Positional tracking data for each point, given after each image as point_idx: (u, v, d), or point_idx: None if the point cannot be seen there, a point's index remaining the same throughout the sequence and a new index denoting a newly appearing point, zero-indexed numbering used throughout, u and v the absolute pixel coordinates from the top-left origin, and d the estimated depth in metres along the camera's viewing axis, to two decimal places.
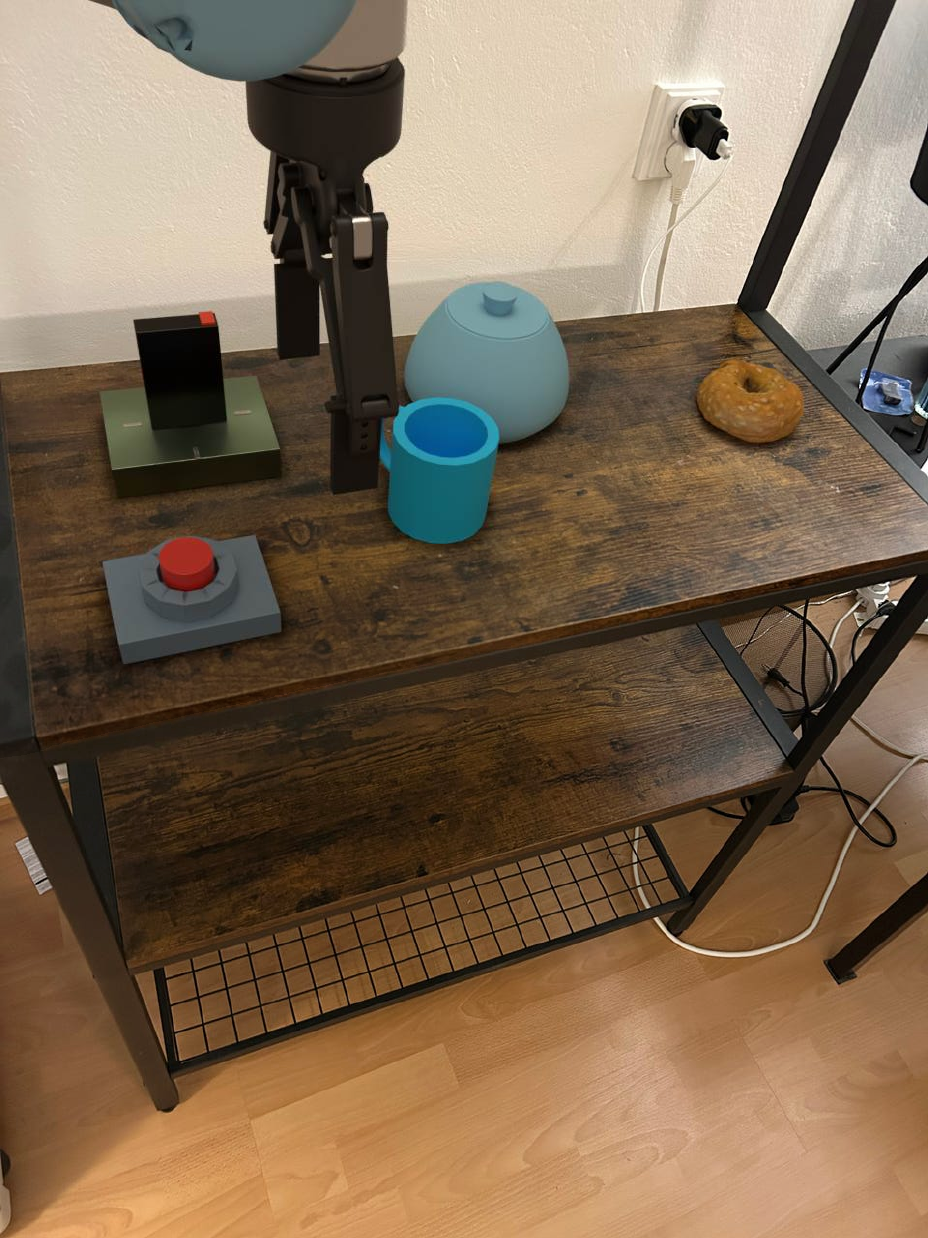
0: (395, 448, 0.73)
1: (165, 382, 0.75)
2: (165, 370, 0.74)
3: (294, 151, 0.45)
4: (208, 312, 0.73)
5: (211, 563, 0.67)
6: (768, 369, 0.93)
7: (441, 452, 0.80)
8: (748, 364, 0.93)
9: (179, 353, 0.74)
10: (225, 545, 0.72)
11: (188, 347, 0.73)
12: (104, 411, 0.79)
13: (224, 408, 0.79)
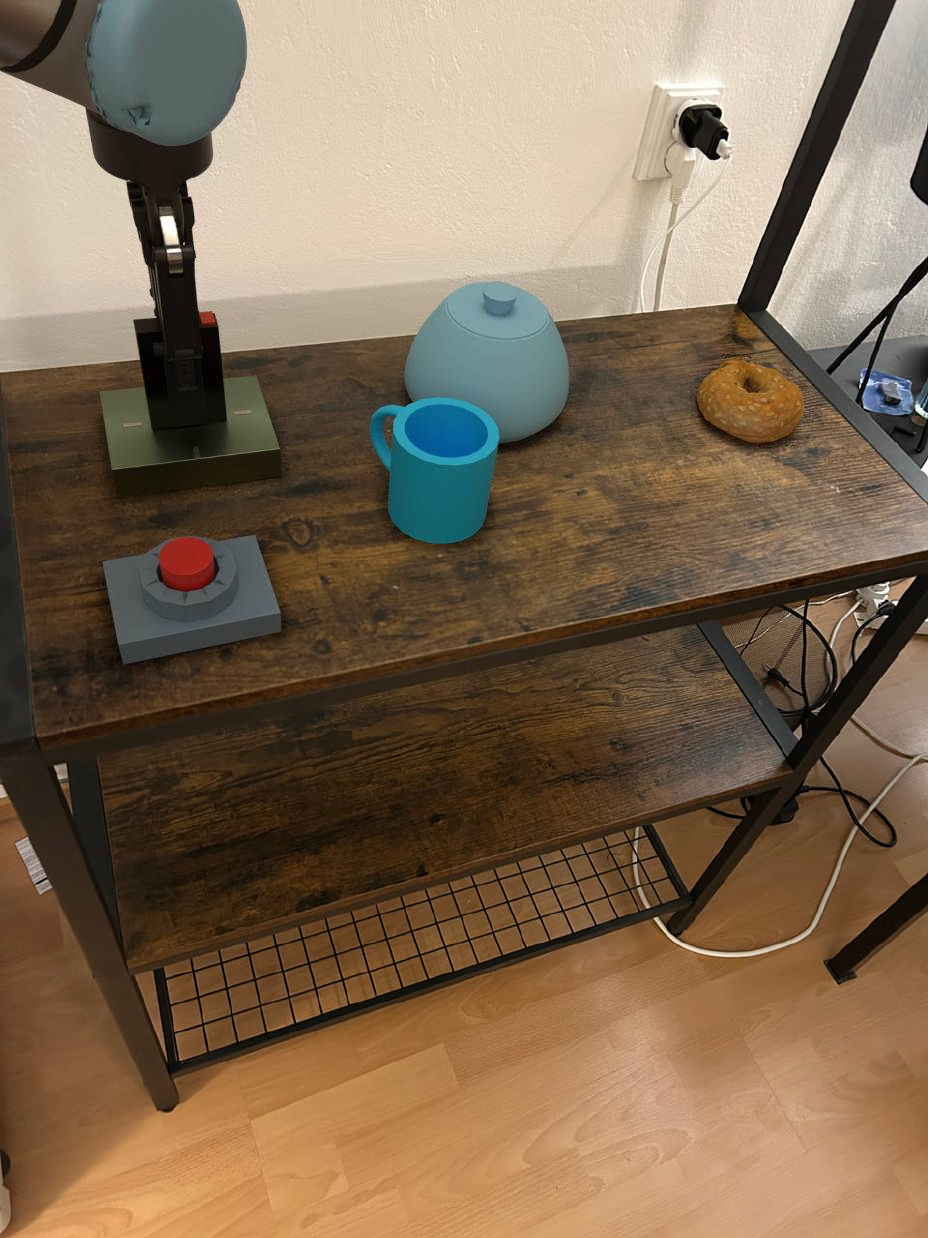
0: (395, 448, 0.73)
1: (165, 382, 0.75)
2: None
3: (122, 173, 0.61)
4: (208, 312, 0.73)
5: (211, 563, 0.67)
6: (768, 369, 0.93)
7: (441, 452, 0.80)
8: (748, 364, 0.93)
9: None
10: (225, 545, 0.72)
11: None
12: (104, 411, 0.79)
13: (224, 408, 0.79)
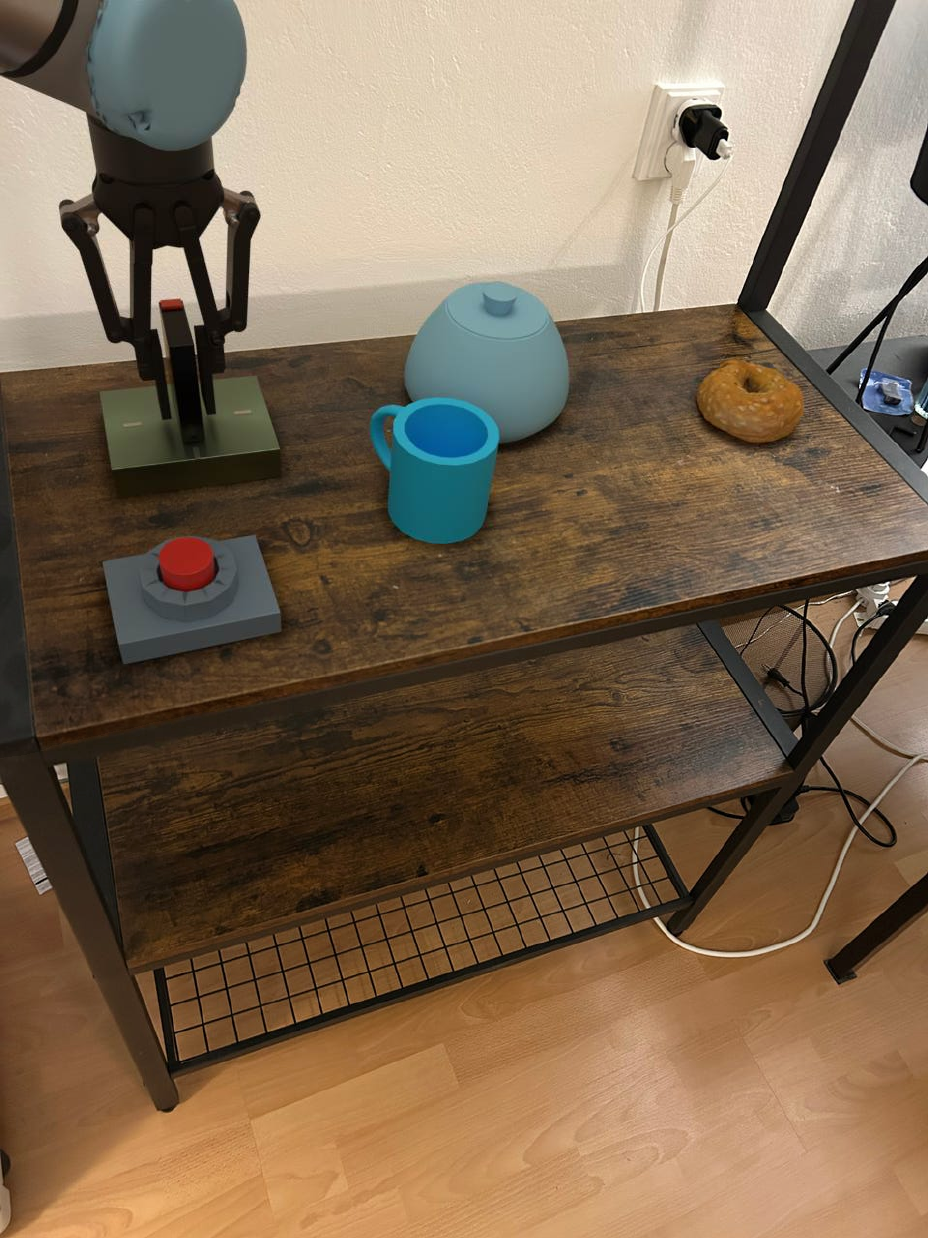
0: (395, 448, 0.73)
1: None
2: None
3: (206, 168, 0.63)
4: (163, 301, 0.74)
5: (211, 563, 0.67)
6: (768, 369, 0.93)
7: (441, 452, 0.80)
8: (748, 364, 0.93)
9: None
10: (225, 545, 0.72)
11: None
12: (104, 411, 0.79)
13: None
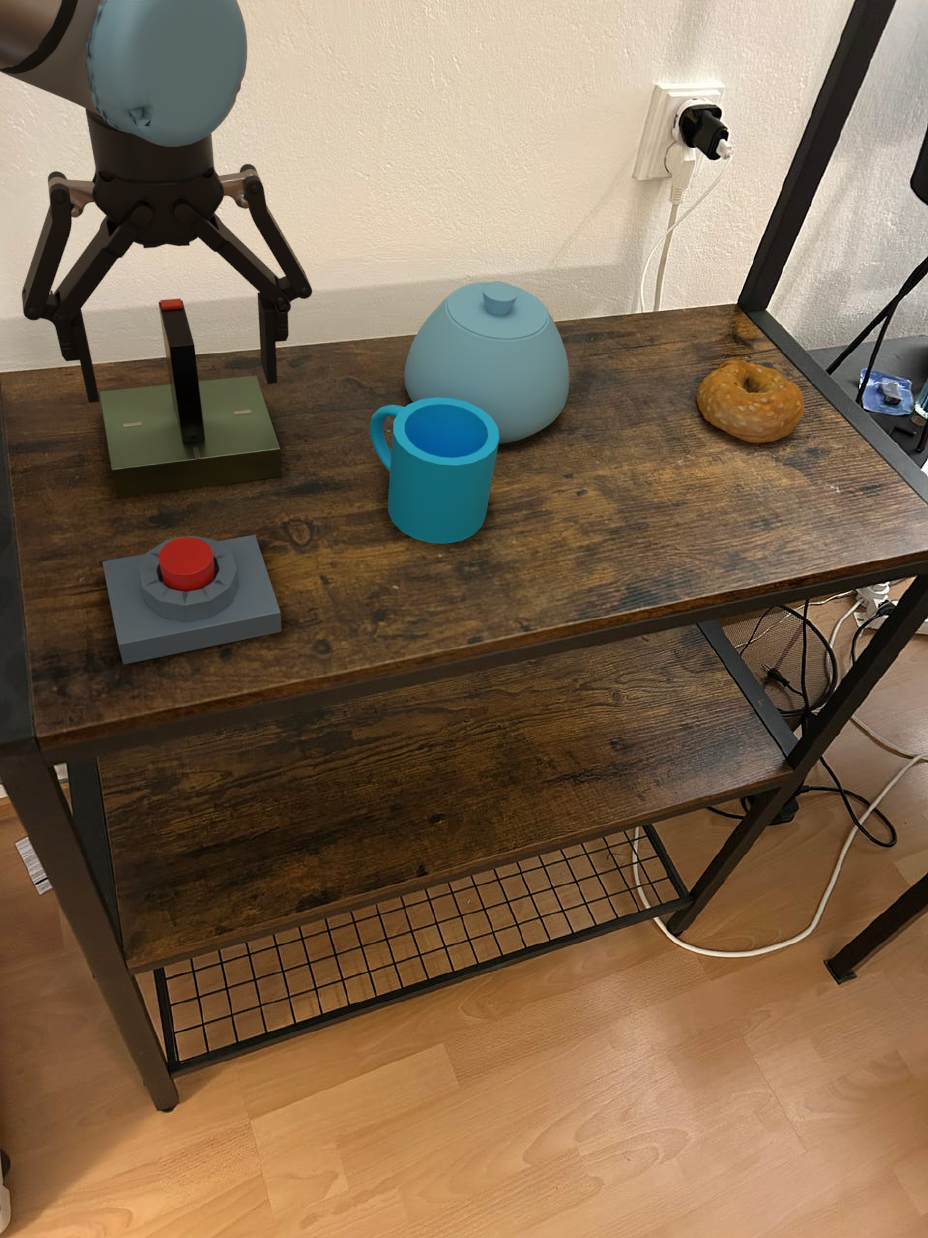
0: (395, 448, 0.73)
1: None
2: None
3: (206, 165, 0.62)
4: (163, 301, 0.74)
5: (211, 563, 0.67)
6: (768, 369, 0.93)
7: (441, 452, 0.80)
8: (748, 364, 0.93)
9: None
10: (225, 545, 0.72)
11: None
12: (104, 411, 0.79)
13: None
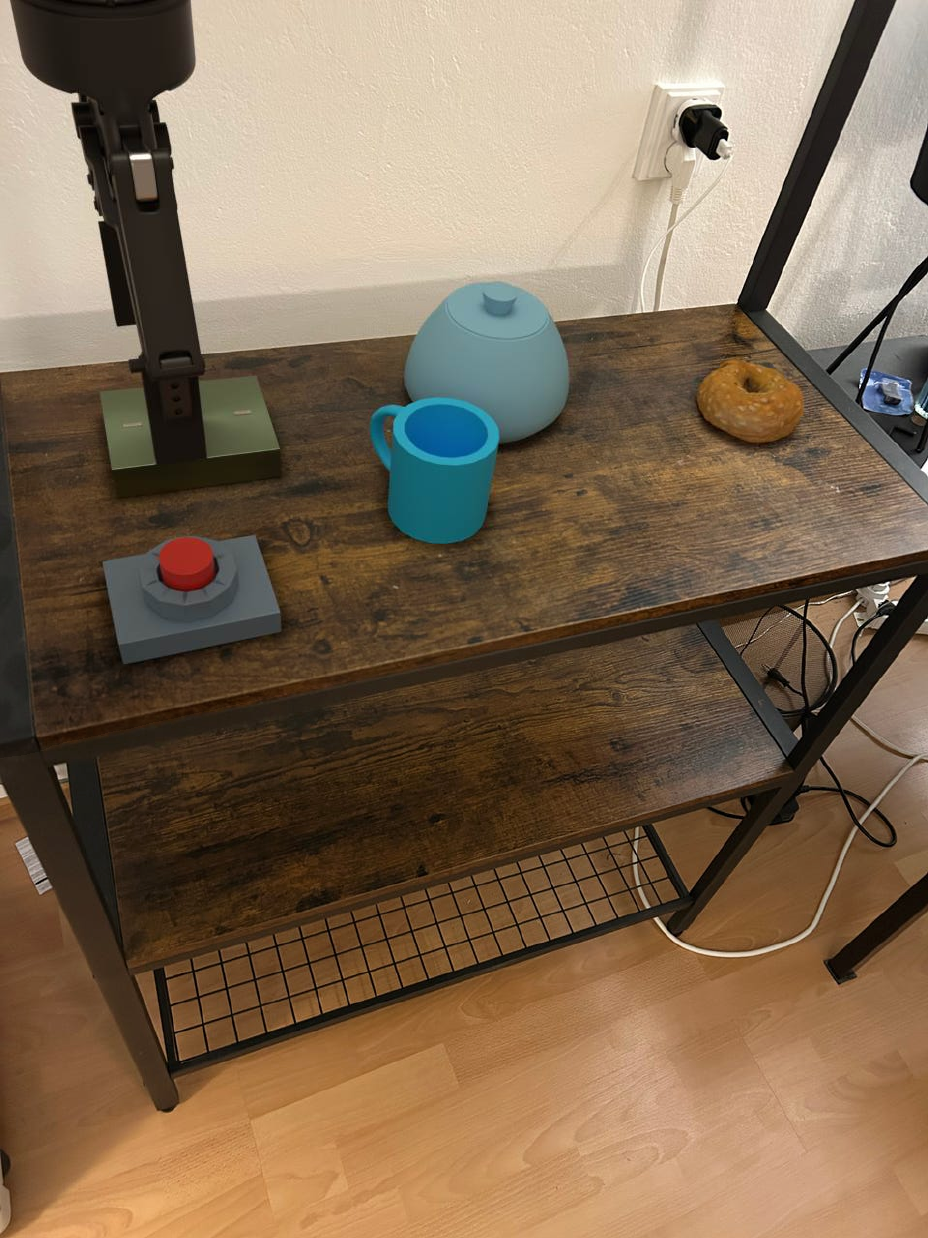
0: (395, 448, 0.73)
1: None
2: None
3: (65, 81, 0.41)
4: None
5: (211, 563, 0.67)
6: (768, 369, 0.93)
7: (441, 452, 0.80)
8: (748, 364, 0.93)
9: None
10: (225, 545, 0.72)
11: None
12: (104, 411, 0.79)
13: None
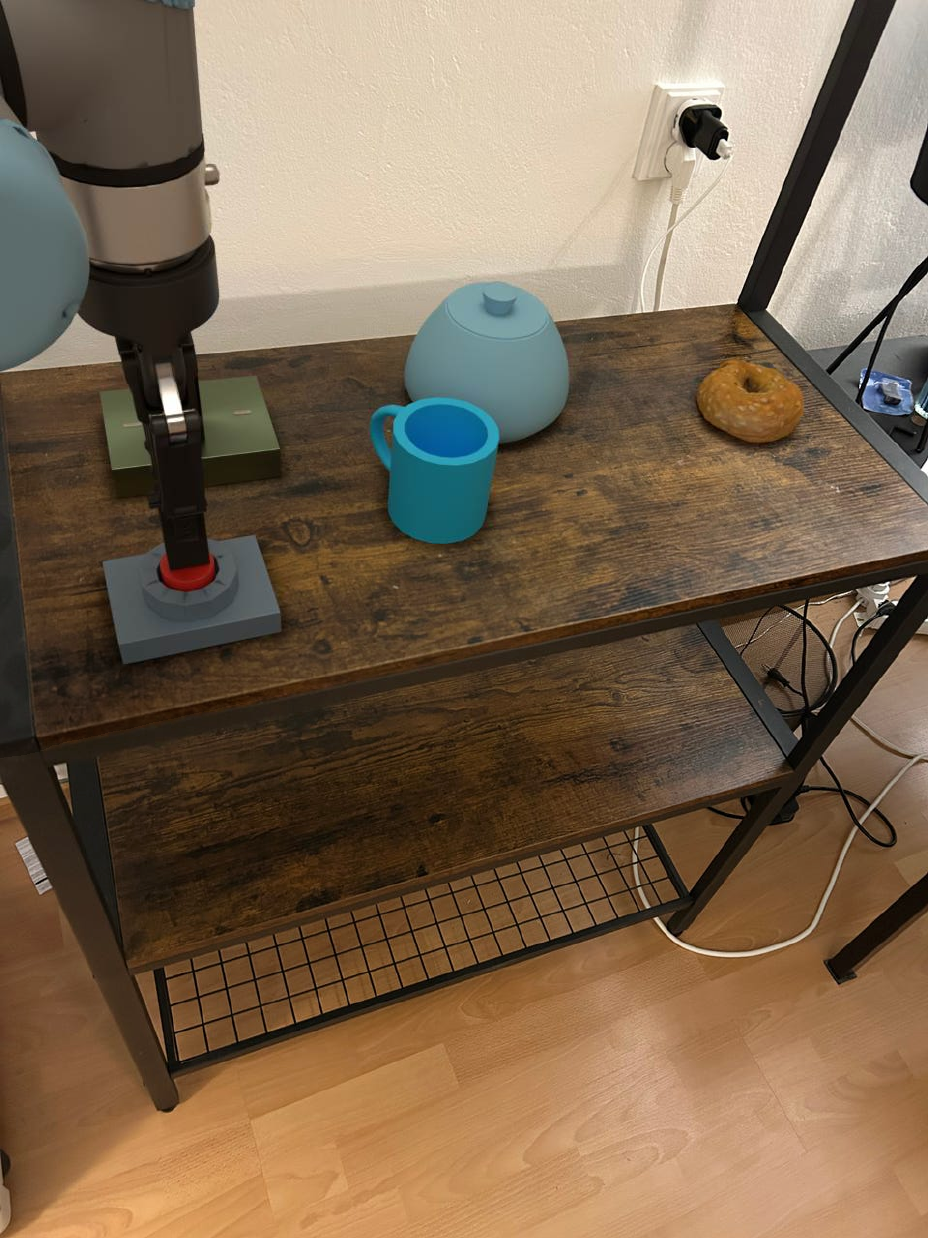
0: (395, 448, 0.73)
1: None
2: None
3: (110, 329, 0.49)
4: None
5: (212, 570, 0.67)
6: (768, 369, 0.93)
7: (441, 452, 0.80)
8: (748, 364, 0.93)
9: None
10: (225, 545, 0.72)
11: None
12: (104, 411, 0.79)
13: None
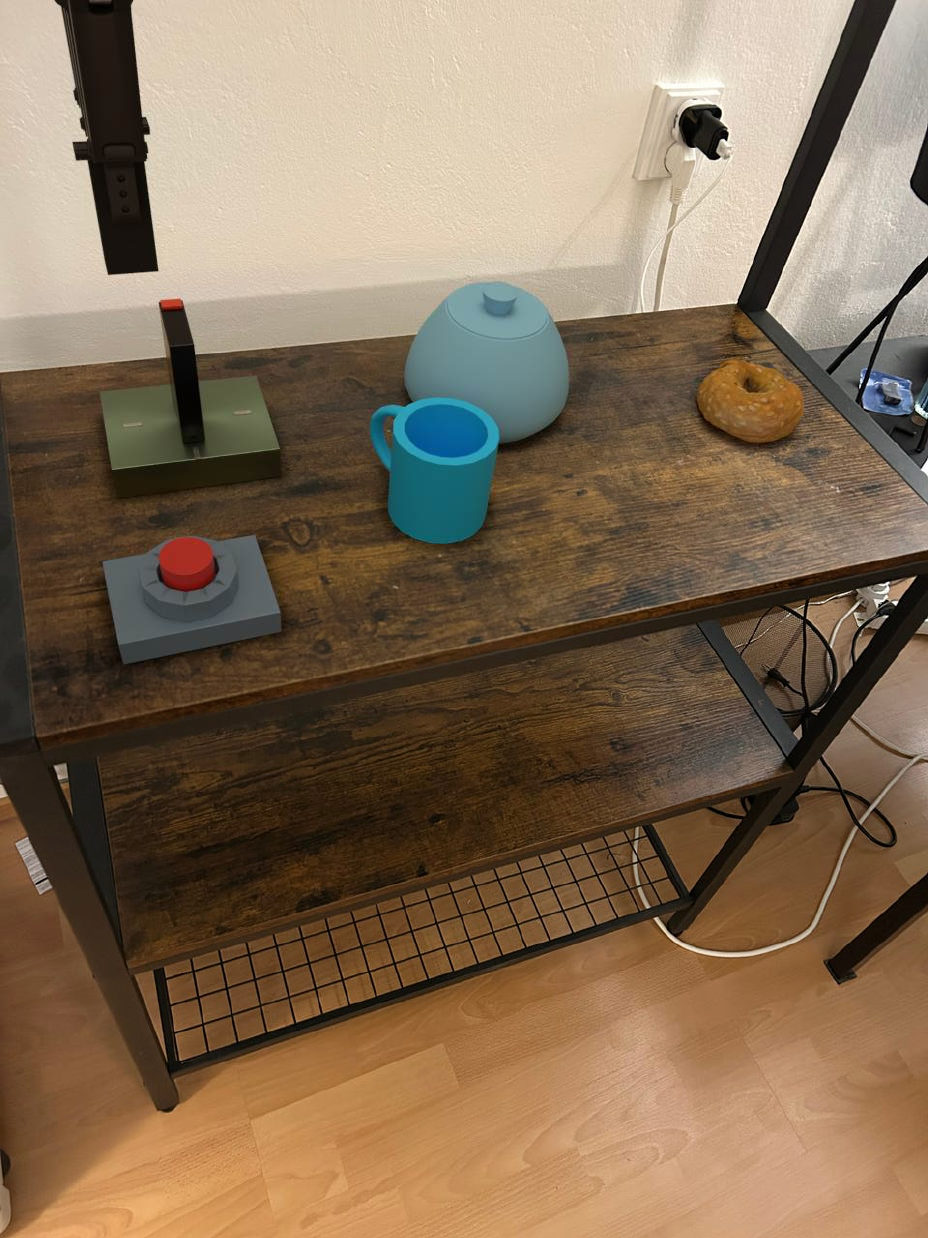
0: (395, 448, 0.73)
1: None
2: None
3: None
4: (163, 301, 0.74)
5: (211, 563, 0.67)
6: (768, 369, 0.93)
7: (441, 452, 0.80)
8: (748, 364, 0.93)
9: None
10: (225, 545, 0.72)
11: None
12: (104, 411, 0.79)
13: None
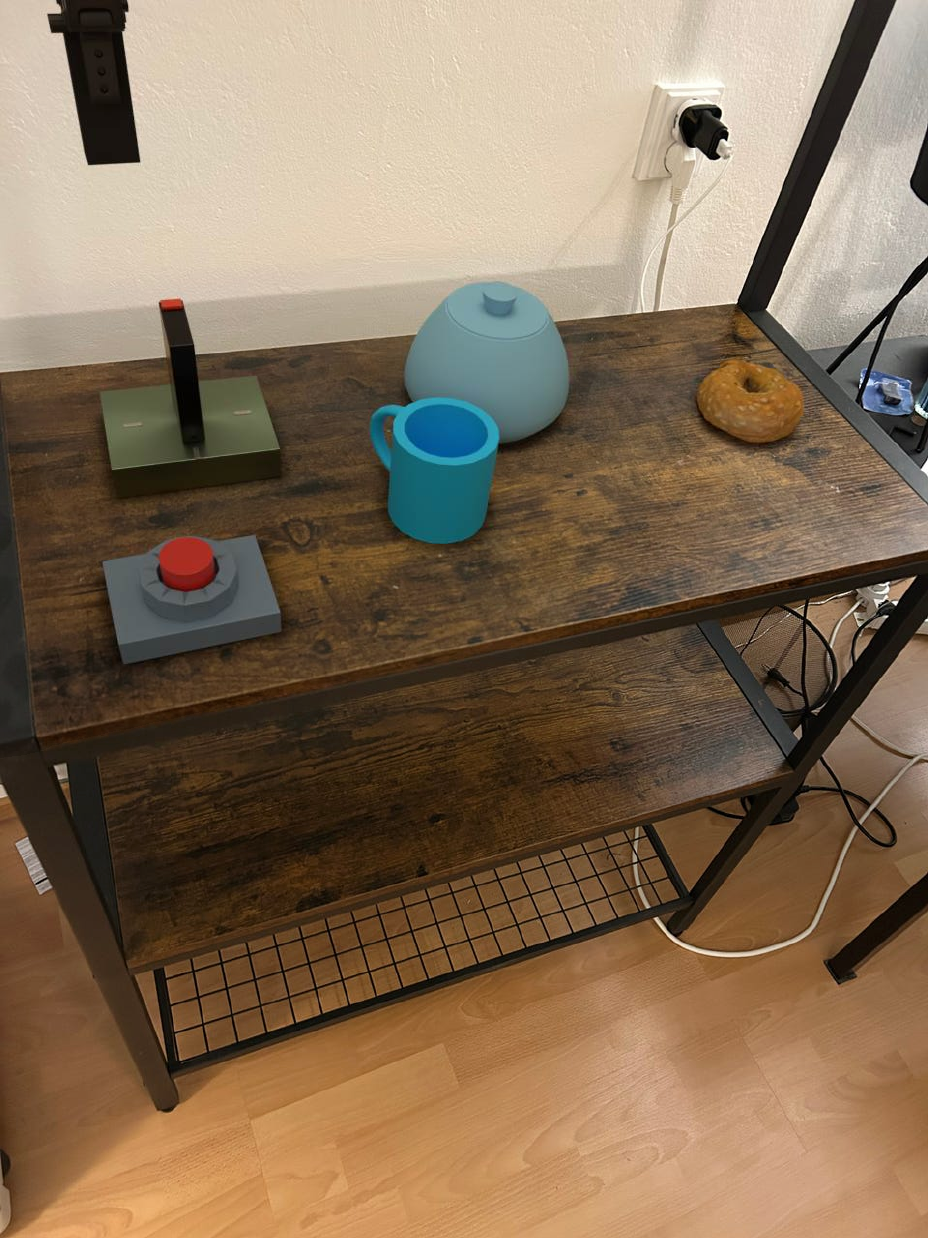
0: (395, 448, 0.73)
1: None
2: None
3: None
4: (163, 301, 0.74)
5: (211, 563, 0.67)
6: (768, 369, 0.93)
7: (441, 452, 0.80)
8: (748, 364, 0.93)
9: None
10: (225, 545, 0.72)
11: None
12: (104, 411, 0.79)
13: None
